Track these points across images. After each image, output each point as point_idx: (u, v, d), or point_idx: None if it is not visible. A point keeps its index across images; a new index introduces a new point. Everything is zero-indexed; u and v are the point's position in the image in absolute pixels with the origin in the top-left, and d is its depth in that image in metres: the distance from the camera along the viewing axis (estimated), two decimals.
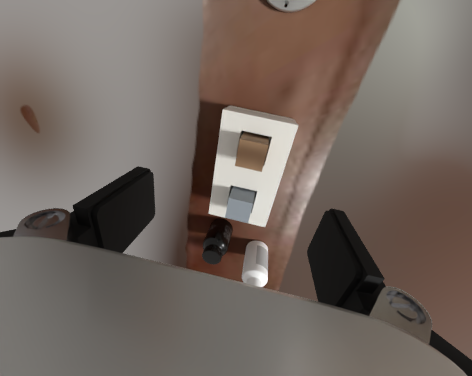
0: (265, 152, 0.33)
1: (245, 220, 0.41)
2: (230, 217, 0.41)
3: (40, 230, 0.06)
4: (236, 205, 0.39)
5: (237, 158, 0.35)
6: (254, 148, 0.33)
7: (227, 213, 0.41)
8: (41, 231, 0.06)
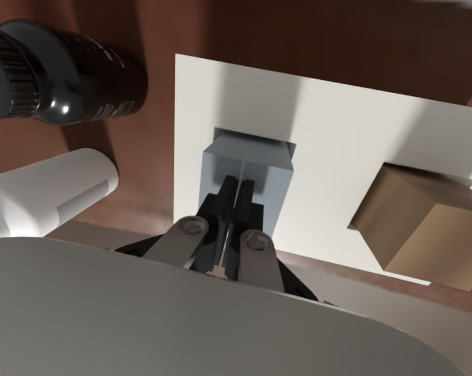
0: (447, 283, 0.12)
1: None
2: (207, 171, 0.11)
3: (183, 234, 0.07)
4: (262, 193, 0.11)
5: (465, 214, 0.10)
6: None
7: (221, 163, 0.11)
8: (183, 235, 0.06)
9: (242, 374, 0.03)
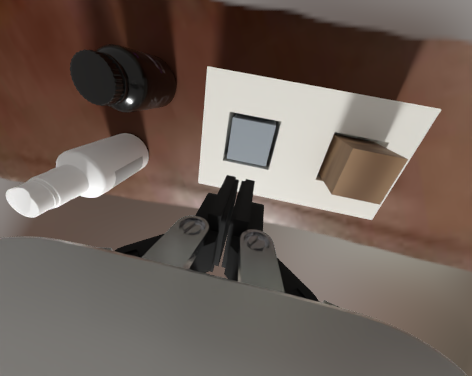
0: (368, 200, 0.20)
1: (231, 154, 0.24)
2: (234, 128, 0.23)
3: (183, 234, 0.07)
4: (261, 138, 0.23)
5: (368, 154, 0.18)
6: (380, 183, 0.19)
7: (241, 123, 0.22)
8: (183, 236, 0.06)
9: (242, 374, 0.03)
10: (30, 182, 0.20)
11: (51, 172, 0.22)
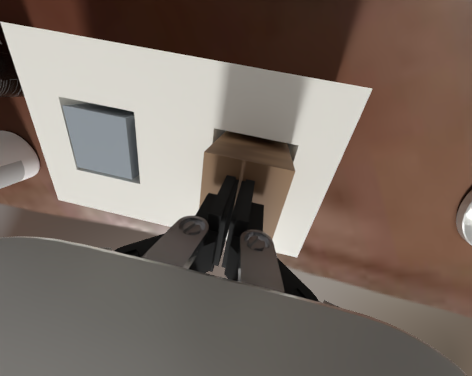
0: None
1: (81, 161, 0.16)
2: (70, 121, 0.15)
3: (183, 234, 0.07)
4: (112, 138, 0.15)
5: (230, 161, 0.11)
6: None
7: (77, 114, 0.14)
8: (183, 235, 0.06)
9: (242, 374, 0.03)
10: None
11: None
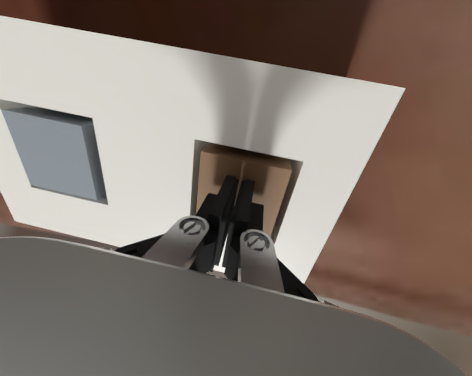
0: None
1: (34, 178, 0.13)
2: (14, 130, 0.12)
3: (183, 234, 0.07)
4: (67, 150, 0.12)
5: (227, 161, 0.11)
6: None
7: (21, 121, 0.11)
8: (183, 236, 0.06)
9: (242, 374, 0.03)
10: None
11: None
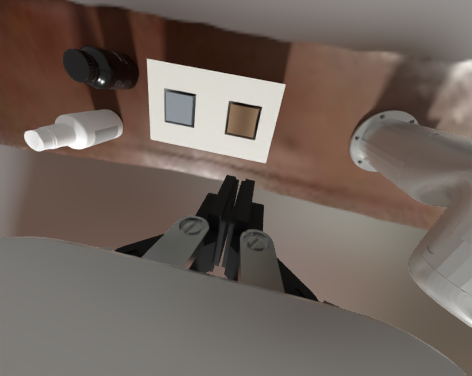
0: (246, 135, 0.36)
1: (168, 117, 0.37)
2: (167, 98, 0.35)
3: (183, 234, 0.07)
4: (185, 105, 0.35)
5: (238, 107, 0.34)
6: (249, 124, 0.35)
7: (171, 95, 0.35)
8: (183, 236, 0.06)
9: (242, 374, 0.03)
10: (38, 129, 0.33)
11: (51, 125, 0.35)
